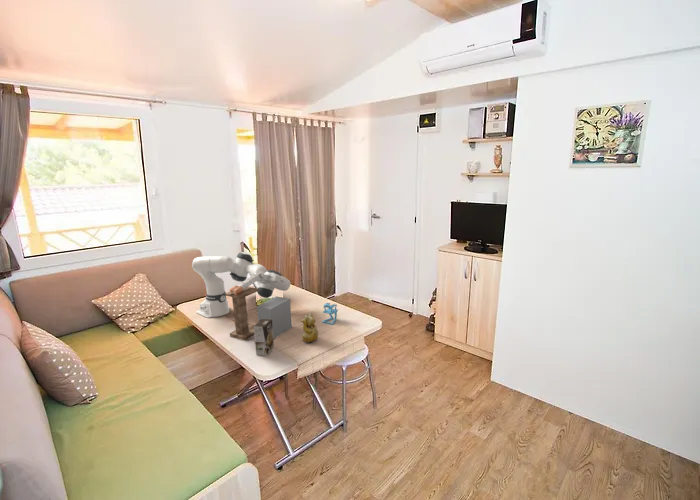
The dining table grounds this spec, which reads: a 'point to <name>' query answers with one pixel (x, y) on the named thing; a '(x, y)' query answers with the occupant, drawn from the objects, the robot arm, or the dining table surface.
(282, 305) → the block
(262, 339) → the coffee box
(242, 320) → the walnut shelf
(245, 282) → the light slender bar
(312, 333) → the decorative figurine
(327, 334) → the dining table surface
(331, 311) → the blue strut sculpture
